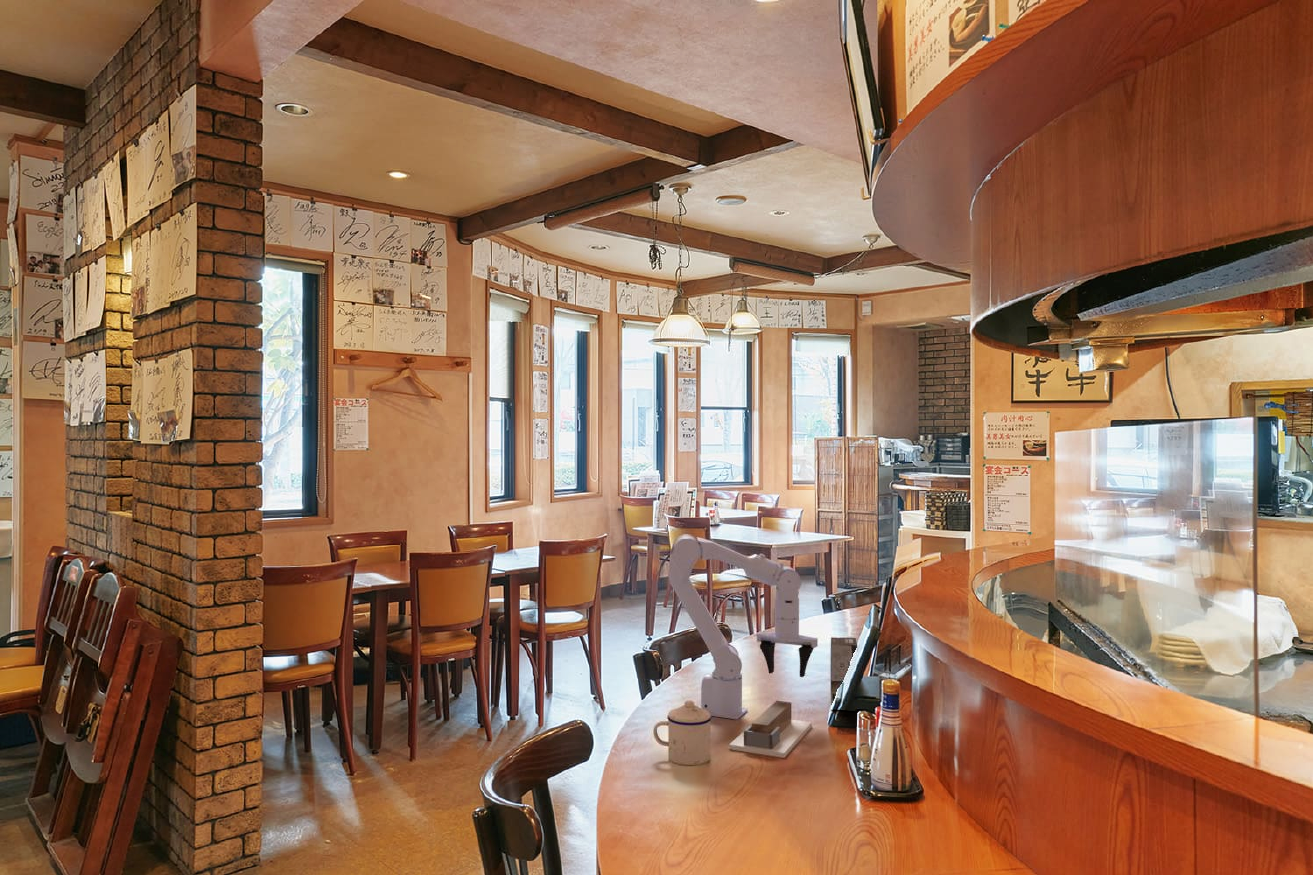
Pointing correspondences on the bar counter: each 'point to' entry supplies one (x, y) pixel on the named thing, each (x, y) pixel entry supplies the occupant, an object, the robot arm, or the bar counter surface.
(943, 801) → the bar counter surface
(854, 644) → the coffee box
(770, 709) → the rail
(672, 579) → the robot arm
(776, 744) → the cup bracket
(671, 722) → the teacup with lid
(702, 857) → the bar counter surface
